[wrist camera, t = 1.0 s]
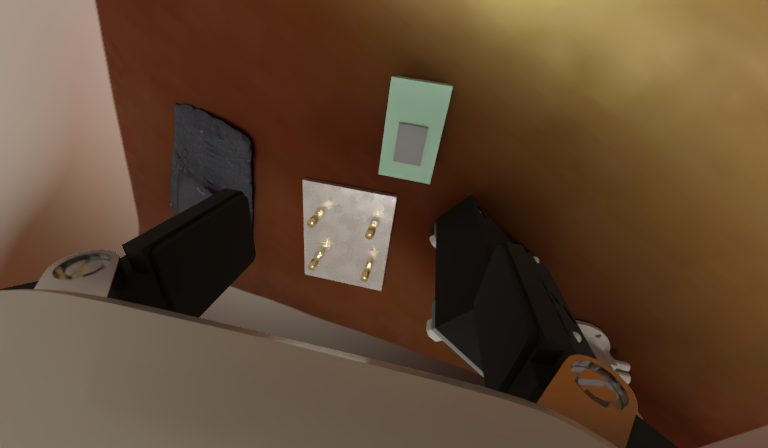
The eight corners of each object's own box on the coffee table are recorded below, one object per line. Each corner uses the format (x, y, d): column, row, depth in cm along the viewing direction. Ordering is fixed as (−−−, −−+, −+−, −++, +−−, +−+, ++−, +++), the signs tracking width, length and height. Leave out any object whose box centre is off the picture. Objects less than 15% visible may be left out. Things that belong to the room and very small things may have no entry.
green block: (450, 84, 32) (453, 87, 26) (431, 166, 37) (429, 186, 31) (400, 75, 33) (390, 76, 26) (388, 157, 38) (377, 175, 31)
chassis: (397, 194, 40) (393, 207, 36) (382, 287, 49) (377, 305, 45) (305, 177, 41) (291, 188, 37) (307, 270, 50) (296, 287, 46)
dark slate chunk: (274, 139, 40) (255, 147, 36) (252, 250, 51) (235, 265, 47) (174, 92, 39) (143, 95, 35) (174, 215, 50) (150, 228, 46)
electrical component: (424, 228, 42) (415, 337, 25) (482, 186, 37) (521, 285, 20) (493, 299, 46) (527, 435, 29) (553, 270, 41) (635, 411, 24)
